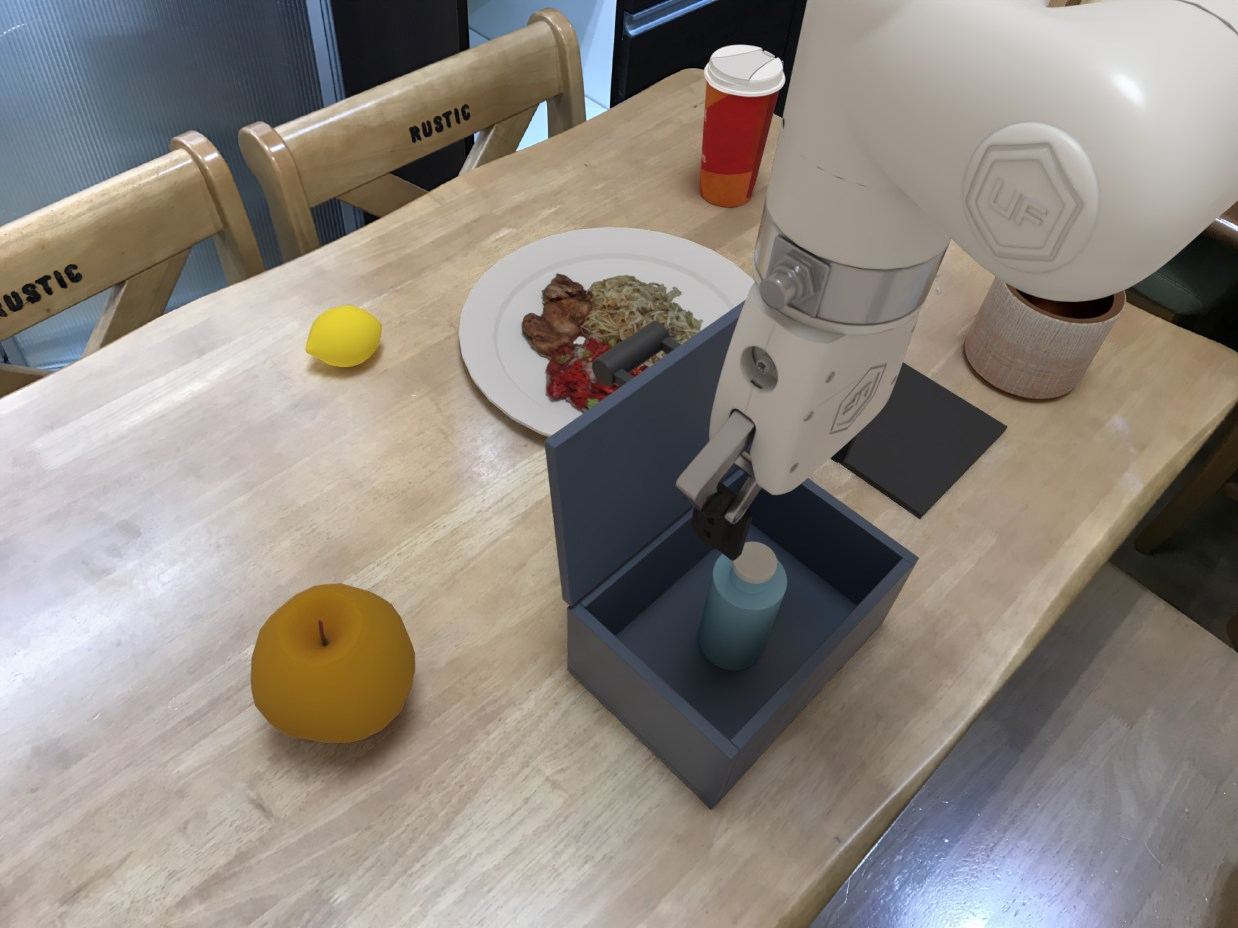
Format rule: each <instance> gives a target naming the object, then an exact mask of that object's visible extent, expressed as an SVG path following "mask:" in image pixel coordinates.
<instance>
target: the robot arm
mask: <svg viewBox="0 0 1238 928" xmlns="http://www.w3.org/2000/svg"><path fill="white" fill-rule="evenodd" d="M1050 1H1051V0H806V3H805V10H804V15H803V19H802V24H801V27H800V28H801V29H800V33H799V37H798V43H797V47H796V53H795V57H794V62H793V66H792V70H791V75H790V81H789V86H788V90H787V95H786V99H785V105H784V109H783V114H782V119H781V124H780V128H779V132H778V138H777V142H776V146H775V147H776V148H775V151H774V157H773V162H772V166H771V169H770V170H771V171H770V174H769V175H770V176H769V180H768V184H767V190H766V195H765V199H764V204H763V208H762V213H761V218H760V222H759V226H758V227H759V228H758V231H757V237H756V242H755V245H754V246H755V247H754V252H753V256H752V260H751V261H752V262H751V270H752V276H753V280H754V281H755V283H754V284H753V285H752V287H751V288H750V291H749V293H748V296H747V298H746V301H745V303H744V306H743V309H742V311H741V314H740V317H739V319H738V322H737V325H736V328H735V331H734V333H733V336H732V339H731V342H730V346H729V349H728V352H727V355H726V358H725V362H724V365H723V368H722V372H721V375H720V379H719V383H718V387H717V390H716V395H715V399H714V404H713V408H712V413H711V419H710V428H709V442H708V443H707V444H706V446H705V447H704V448H703V449H702V450H701V452H700V453H699V454H698V455H697V456H696V457H695V459H694V460H693V461H692V462H691V463H690V464H689V466H688V467H687V468H686V469H685V470H684V472H683V473H682V474H681V475H680V476H679V478H678V479H677V481H676V484H675V486H676V488H677V489H678V491H679V492H680V493H681V494H682V497H683V498H684V499H685V500H687V501H688V502H689V503H690V504H692V505H693V506H694V510H693V515H692V520H691V526H692V528H693V530H694V531H695V532H696V534H697V536H698V538H699V539H700V540H701V541H702V542H703V543H704V544H706V545H707V546H708V547H710V548H711V549H714V550H716V549H718V550H719V551H720V552H721V553H722V554H724V555H725V556H726V557H727V558H729V559H730V560H732V561H734V560H736V559H737V558H738V557H739V556H740V555H741V554H742V551H743V548H744V544H745V541H746V537H747V534H748V531H749V527H750V524H751V520H752V517H753V514H752V512H751V511H750V510H749V509H748V508H749V507H750V505H751V504H752V502H753V501H754V499H755V498H756V496H757V495H758V493H759V492H760V490H761V489H762V488H763V489H765V490H766V491H768V492H769V493H770V494H772V495H780V494H784V493H787V492H789V491H792V490H793V489H795V488H796V487H797V486H799V485H800V484H801V483H802V482H804V481H805V480H806V479H807V478H809V477H811V476H812V475H813V474H814V473H816V471H818V470H819V469H820V468H821V467H822V466H823V465H824V464H826V463H827V462H828V461H829V460H831V461H833V462H834V463H836V464H838V463H839V464H841V463H842V462H843V461H845V460H846V459H847V458H848V456H849V454H850V451H851V449H852V446H853V444H854V442H855V439H856V437H857V434H858V433H859V432H860V431H861V430H862V429H863V428H864V427H865V426H866V425H867V424H868V423H869V422H870V421H872V420H873V419H874V418H875V417H876V415H877V414H878V413H879V412H880V411H881V410H882V408H883V407H884V406H885V404H886V403H887V401H888V399H889V397H890V395H891V393H892V390H893V388H894V385H895V382H896V380H897V377H898V374H899V371H900V369H901V366H902V363H903V362H904V360H905V357H906V354H907V353H908V349H909V347H910V344H911V341H912V338H913V334H914V332H915V329H916V326H917V323H918V319H919V317H920V313H921V310H922V309H923V307H924V305H925V303H926V301H927V298H928V295H929V293H930V291H931V288H932V286H933V284H934V281H935V279H936V277H937V275H938V272H939V270H940V267H941V265H942V262H943V260H944V258H945V256H946V254H947V250H948V249H949V246H950V244H951V242H952V241H953V242H954V243H955V245H957V246H958V247H959V248H960V249H961V250H962V251H963V252H964V253H965V254H967V255H968V256H969V257H970V258H971V259H973V260H974V261H975V262H976V263H977V264H978V265H979V266H980V267H982V268H983V269H985V270H986V271H987V272H988V273H990V274H992V275H993V276H994V277H995V276H996V277H997V278H999V279H1000V280H1002V281H1003V282H1005V283H1007V284H1009V285H1011V286H1013V287H1015V288H1017V289H1019V290H1020V291H1023V292H1025V293H1028V294H1030V295H1033V296H1036V297H1040V298H1044V299H1049V300H1054V301H1070V302H1078V301H1087V300H1093V299H1099V298H1103V297H1107V296H1109V295H1112V294H1115V293H1118V292H1121V291H1123V290H1124V291H1125V290H1127V289H1130V288H1132V287H1134V286H1135V285H1137V284H1138V283H1140V282H1142V281H1143V280H1145V279H1147V278H1148V277H1149V276H1152V274H1154V273H1155V272H1157V271H1159V269H1161V268H1162V267H1163V266H1165V265H1166V264H1167V263H1168V262H1169V261H1171V260H1172V259H1173V258H1174V257H1175V256H1177V255H1178V254H1179V253H1180V252H1181V251H1183V249H1185V248H1186V247H1187V246H1188V245H1189V244H1190V243H1192V241H1194V240H1195V239H1196V238H1197V237H1198V236H1199V235H1201V233H1202V232H1204V231H1205V230H1206V229H1207V228H1208V227H1209V226H1210V225H1212V224H1213V223H1214V222H1215V221H1216V220H1217V219H1218V218H1219V217H1220V216H1222V215H1223V214H1224V213H1225V212H1227V211H1228V210H1229V209H1230V208H1231V207H1232V206H1233V205H1234V204H1236V203H1237V202H1238V0H1100V1H1097V2H1089V3H1082V4H1077V5H1076V4H1075V5H1068V6H1056V7H1052V6H1051V7H1050V6H1049V5H1050ZM752 441H753V443H752ZM751 443H752V446H751V450H750V455H749V454H747V453H746V452H745V450H746V449H747V447H748V446H749V445H750V444H751ZM733 464H734V465H736V466H737V467H738V468H740V469H741V470H742V471H744V472H745V473H746V474H748V475H749V477H748V479H747V480H746V482H745V483H744V485H743V486H742V488H741V489H740V491H739V492H738V494H736V493H734V492H733V491H732V490H730V489H729V488H728V487H726V486H725V485H724V484H723V483H721V482H720V480H721V478H722V477H723V476H724V475H725V473H726V472H727V471H728V470H729V469H730V468H731V466H732V465H733Z"/></svg>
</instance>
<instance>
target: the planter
mask: <svg viewBox="0 0 1238 928" xmlns="http://www.w3.org/2000/svg"><path fill="white" fill-rule="evenodd" d="M1126 303H1127V295H1126V291H1125V290H1123V291H1121V292H1118V293H1115V294H1112V295H1109V296H1107V297H1103V298H1099V299H1093V300H1087V301H1078V302H1070V301H1054V300H1049V299H1044V298H1040V297H1036V296H1033V295H1030V294H1028V293H1025V292H1023V291H1020V290H1019V289H1017V288H1015V287H1013V286H1011V285H1009V284H1007V283H1005V282H1003V281H1002V280H1000V279H999V278H997V277H996V276H994V278H993V280H992V283H991V285H990V287H989V288H988V291H987V293H986V295H985V297H984V299H983V301H982V303H981V305H980V307H979V308H978V311H977V313H976V315H975V316H974V319H973V320H972V323H971V325H970V327H969V328H968V331H967V333H966V337H965V341H964V353H965V357H966V359H967V361H968V363H969V364H970V366H971V367H972V369H973V370H974V371H975V372H976V373H977V374H978V375H979V376H980V377H981V378H982V379H983V380H984V381H985V382H987V383H989V384H990V385H992V386H993V387H995V388H997V389H998V390H1001V391H1003V392H1005V393H1008V394H1010V395H1013V396H1016V397H1021V398H1025V399H1032V400H1033V399H1034V400H1047V399H1048V400H1049V399H1055V398H1058V397H1062V396H1065V395H1066V394H1068V393H1069V392H1071V391H1072V390H1073V389H1074V388H1075V387H1076V386H1078V384H1079V383H1080V381H1081V380H1082V379H1083V377H1084V375H1085V374H1086V372H1087V370H1088V369H1089V367H1090V365H1091V364H1092V362H1093V360H1094V359H1095V357H1096V355H1097V354H1098V352H1099V351H1100V349H1101V347H1102V346H1103V344H1104V342H1105V340H1106V339H1107V338H1108V336H1109V334H1110V333H1111V331H1112V329H1113V328H1114V326H1115V324H1116V323H1117V321H1118V320H1119V318H1120V317H1121V315H1122V313H1123V311H1124V310H1125V308H1126Z"/></svg>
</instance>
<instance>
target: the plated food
mask: <svg viewBox="0 0 1238 928" xmlns="http://www.w3.org/2000/svg"><path fill="white" fill-rule="evenodd" d="M754 283H755V280H754V278H752V277H751V276H750V275H749V274H748V273H746V271H744V270H743V269H742V268H741V267H739V266H738V265H737V264H736V263H735V262H734V261H731V260H729V258H726V257H724V256H723V255H721V254H719V253H718V252H716V251H714V249H711V248H709V247H706V246H703V245H702V244H699V243H697V242H694V241H692V240H690V239H687V238H683V237H680V236H676V235H672V234H669V233H665V232H662V231H656V230H650V229H644V228H643V229H642V228H635V227H616V226H615V227H614V226H613V227H611V226H610V227H609V226H601V227H592V228H591V227H590V228H582V229H573V230H568V231H564V232H561V233H557V234H552V235H551V234H550V235H548V236H546V237H542V238H541V239H537V240H535V241H532V242H530V243H527V244H524V245H523V246H521V247H518V248H517V249H516V250H514V251H512V252H510V253H508V254H507V255H504V256H503V257H502V258H501V259H500V260H498V261H497V262H496V263H495V264H494V265H492V266H491V267H490V268H489V269H488V270H486V271H485V272H484V273H483V274H482V275H481V277H480V278H479V280H478V281H477V282H476V283H475V284H474V286H473V287H472V288H471V290H470V291H469V293H468V295H467V297H466V300H465V302H464V305H463V306H462V309H461V310H460V311H461V313H460V320H459V326H458V339H459V345H460V352H461V358H462V360H463V363H464V365H465V367H466V369H467V371H468V373H469V376H470V378H471V380H472V381H473V383H474V384H475V385H476V387H477V388H478V389H479V390H480V392H481V393H482V394H483V395H484V396H485V398H486V399H487V400H488V401H489V402H490V403H491V404H492V405H494V406H495V407H496V408H498V409H499V410H500V411H501V412H502V413H503V414H505V415H506V416H507V417H509V418H510V419H511V420H513V421H514V422H516V423H518V424H520V425H522V426H524V427H526V428H528V429H529V430H532V431H534V432H536V433H537V434H539V435H542V436H544V437H547V438H549V437H550V436H552V435H553V434H554V433H556V432H557V431H559V430H560V429H562V428H563V427H564V426H566V425H567V424H569V423H570V422H572V421H573V420H574V419H576V418H577V417H579V416H580V415H581V414H583V413H584V412H586V411H587V410H589V409H590V408H591V407H593V406H594V405H596V404H597V403H599V402H600V401H601V400H603V399H604V398H606V397H607V396H609V395H610V394H611V393H613V392H614V391H616V390H617V389H619V388H620V386H618V385H617V384H615V383H614V384H613V385H611V386H605V385H603V384H602V383H601V382H600V381H599V380H598V379H597V378H596V376H595V375H594V373H593V370H592V362H593V360H595V359H596V358H598V357H599V356H601V355H602V354H604V353H605V352H607V351H608V350H610V349H611V348H613V347H614V346H616V345H617V344H619V343H620V342H622V341H623V340H625V339H626V338H628V337H629V336H631V335H632V334H634V333H635V332H637V331H638V330H640V329H641V328H643V327H644V326H646V325H647V324H649V323H650V322H652V321H658V322H660V323H662V324H663V325H664V326H665V327H666V328H667V330H668V332H669V334H670V338H672V339H673V340H675V341H677V342H678V343H680V344H683V343H684V342H686V341H687V340H689V339H690V338H691V337H693V336H694V335H696V334H697V333H699V332H700V331H701V330H703V329H704V328H706V327H707V326H709V325H710V324H711V323H713V322H714V321H716V320H717V319H719V318H720V317H721V316H723V315H724V314H726V313H727V312H729V311H730V310H731V309H733V308H734V307H736V306H737V305H739V304H740V303H741V302H743V301H744V300H746V298H747V296H748V293H749V291H750V288H751V287H752V285H753V284H754ZM666 355H667V354H666V353H665V352H663V351H660V352H659V353H658V354H656V355H655V356H653V357H652V358H650V359H649V360H647V361H646V362H645V363H643V364H642V365H640V366H639V367H637V368H636V369H634V370H633V371H632V372H630V373H629V374H631V375H632V376H634V377H636V376H637V375H639V374H640V373H641V372H643V371H644V370H646V369H647V368H649V367H650V366H651V365H653V364H654V363H656V362H657V361H659V360H660V359H661V358H663V357H664V356H666Z"/></svg>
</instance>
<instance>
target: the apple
mask: <svg viewBox="0 0 1238 928" xmlns="http://www.w3.org/2000/svg"><path fill="white" fill-rule="evenodd" d="M250 661H251V664H250V689H251V694H252V699H253V703H254V706H255V708H256V709H257V710H258V711H259V712H260V714H261V715H262V716H263V717H264V719H265V720H266V721H267V722H268V723H269V724H270V725H271V726H272V727H273V728H275V729H276V730H278V731H280V732H281V733H283V734H285V735H286V736H288V737H291V738H296V739H302V740H307V741H308V740H309V741H313V742H320V743H327V744H329V743H330V744H331V743H332V744H333V743H335V744H350V743H354V742H358V741H363V740H365V739H367V738H369V737H371V736H373V735H375V734H377V733H379V732H381V731H383V730H384V729H385V728H386V727H387V726H388V725H389V724H391V722H392V721H393V720H394V719H395V718H396V717H397V716H398V715H399V714H400V713H401V712H402V711H403V709H404V706H405V704H406V701H407V698H408V697H409V694H410V691H411V689H412V686H413V681H414V679H415V673H416V651H415V649H414V645H413V643H412V640H411V637H410V635H409V633H408V631H407V628H406V626H405V624H404V620H403V619H402V616H401V615H400V614H399V612H398V611H397V609H396V608H395V607H394V605H393V604H392V603H391V602H389V601H387V600H386V599H384V598H383V597H382V596H380V595H378V594H376V593H374V592H372V591H370V590H367V589H364V588H359V587H356V586H352V585H348V584H345V583H340V582H339V583H323V584H316V585H313V586H311V587H309V588H306V589H304V590H302V591H301V592H299V593H296V594H294V595H293V596H292V597H291V598H289V599H288V600H287V601H285V603H283V604H282V605H281V606H280V607H278V609H276V610H275V611H274V612H272V614H271V615H270V616H269V617H268V618H267V619H266V621H265V622H264V624H263V625H262V626H261V627H260V629H259V631H258V634H257V638H256V642H255V644H254V648H253V651H252V655H251V659H250Z"/></svg>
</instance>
